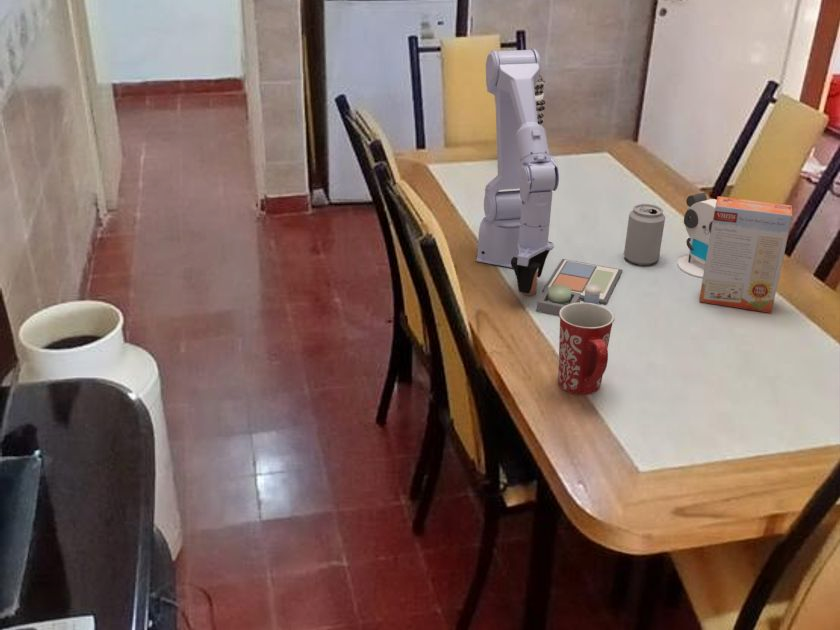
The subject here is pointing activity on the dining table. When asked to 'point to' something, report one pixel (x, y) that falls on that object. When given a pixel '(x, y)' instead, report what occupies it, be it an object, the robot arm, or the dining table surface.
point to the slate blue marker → (592, 294)
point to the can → (644, 234)
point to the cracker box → (745, 253)
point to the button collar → (554, 307)
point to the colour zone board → (585, 278)
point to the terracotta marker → (533, 286)
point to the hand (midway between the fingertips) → (529, 284)
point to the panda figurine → (697, 233)
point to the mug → (583, 346)
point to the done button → (559, 294)
